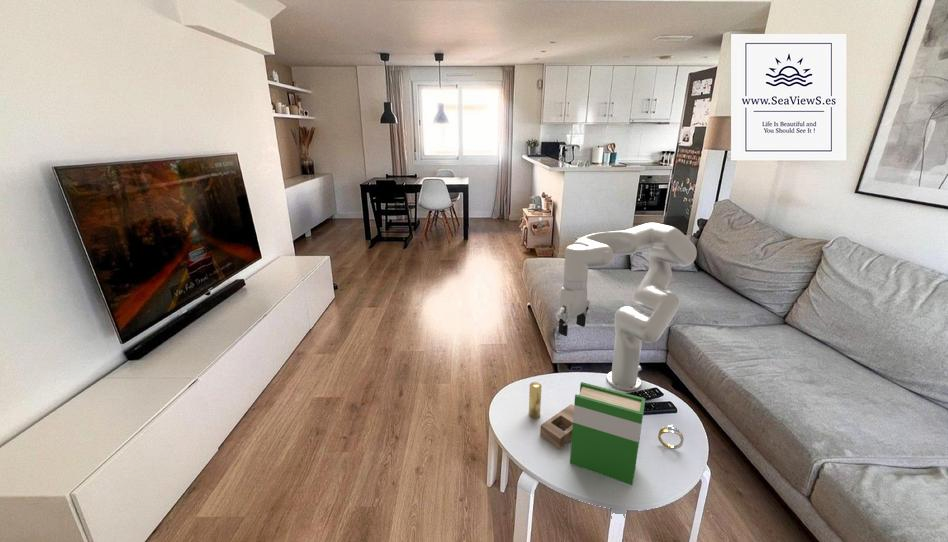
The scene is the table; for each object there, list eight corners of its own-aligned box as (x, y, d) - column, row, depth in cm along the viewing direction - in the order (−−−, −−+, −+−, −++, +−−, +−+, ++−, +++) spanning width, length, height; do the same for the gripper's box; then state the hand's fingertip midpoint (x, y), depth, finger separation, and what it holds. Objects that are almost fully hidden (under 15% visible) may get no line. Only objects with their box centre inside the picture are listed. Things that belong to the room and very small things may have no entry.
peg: (534, 409, 142) (535, 380, 138) (542, 414, 140) (543, 386, 136) (526, 414, 140) (527, 385, 136) (534, 420, 137) (536, 390, 133)
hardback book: (569, 463, 119) (575, 396, 111) (575, 446, 125) (581, 381, 117) (632, 485, 111) (642, 414, 103) (635, 466, 117) (645, 398, 110)
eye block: (570, 413, 140) (571, 404, 139) (589, 425, 134) (590, 415, 133) (540, 434, 130) (540, 425, 129) (559, 448, 124) (560, 438, 123)
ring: (681, 449, 123) (686, 428, 121) (680, 455, 121) (684, 434, 118) (657, 440, 127) (661, 419, 124) (655, 446, 125) (659, 425, 122)
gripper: (581, 273, 137) (578, 318, 143) (548, 286, 127) (546, 334, 132) (600, 279, 131) (596, 325, 137) (567, 292, 121) (564, 342, 127)
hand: (571, 329), depth 135 cm, fingers open, 9 cm apart
